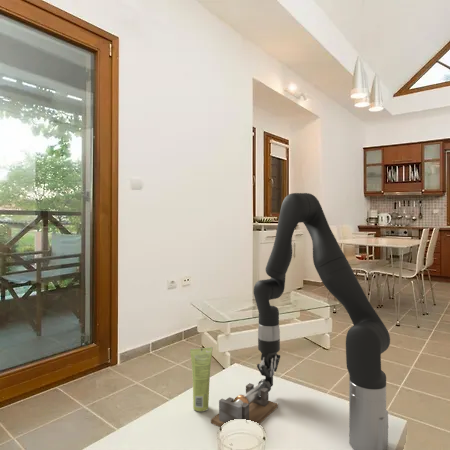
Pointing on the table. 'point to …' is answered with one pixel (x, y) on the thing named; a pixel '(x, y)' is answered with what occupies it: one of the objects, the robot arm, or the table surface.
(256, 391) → the shaft
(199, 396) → the tube
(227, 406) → the bearing board
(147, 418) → the table surface
